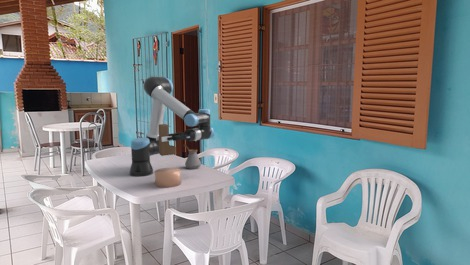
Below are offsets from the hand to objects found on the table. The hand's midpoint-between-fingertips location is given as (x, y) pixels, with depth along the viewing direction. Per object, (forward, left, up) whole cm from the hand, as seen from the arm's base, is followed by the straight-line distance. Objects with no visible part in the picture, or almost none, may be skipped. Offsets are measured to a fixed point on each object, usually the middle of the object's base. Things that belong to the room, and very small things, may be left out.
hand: (159, 138), depth 196 cm
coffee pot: (-28, +41, -28) cm, 57 cm away
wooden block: (0, +5, -10) cm, 11 cm away
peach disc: (0, +5, -28) cm, 28 cm away
